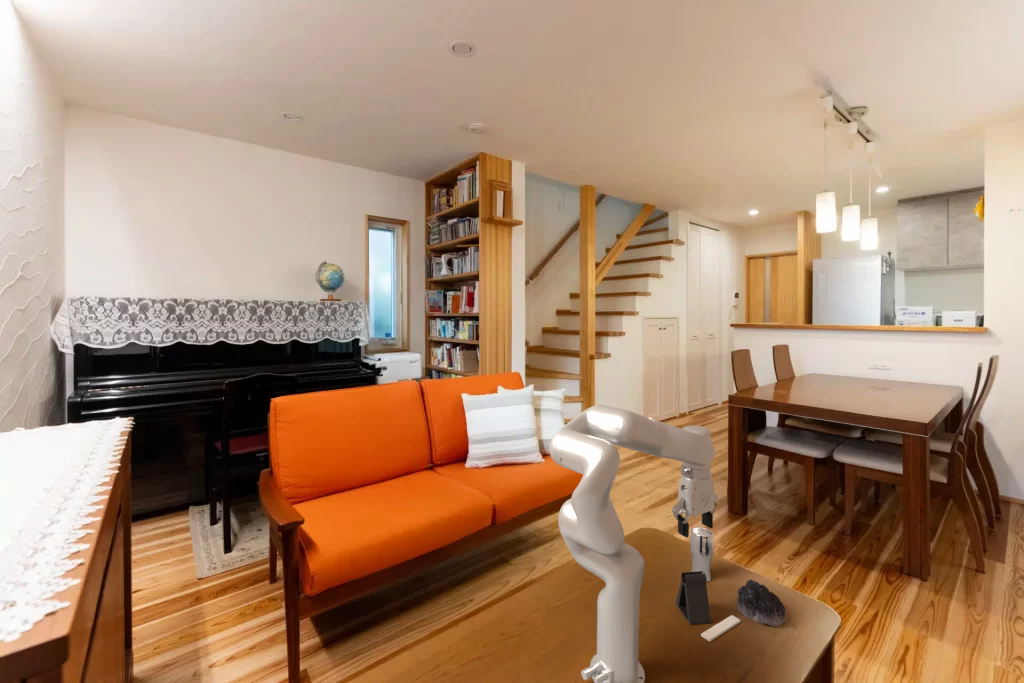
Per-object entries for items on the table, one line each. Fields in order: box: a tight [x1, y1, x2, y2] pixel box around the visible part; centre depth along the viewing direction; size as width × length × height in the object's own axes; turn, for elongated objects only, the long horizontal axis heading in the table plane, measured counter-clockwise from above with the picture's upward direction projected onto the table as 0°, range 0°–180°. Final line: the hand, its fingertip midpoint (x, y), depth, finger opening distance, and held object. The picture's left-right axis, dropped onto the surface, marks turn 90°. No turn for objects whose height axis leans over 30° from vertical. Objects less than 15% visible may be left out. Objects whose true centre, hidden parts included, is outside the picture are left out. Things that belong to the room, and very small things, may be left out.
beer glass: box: [689, 526, 714, 582], centre depth 144 cm, size 7×7×15 cm
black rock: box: [736, 579, 787, 627], centre depth 127 cm, size 13×14×10 cm
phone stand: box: [675, 571, 712, 626], centre depth 126 cm, size 9×6×12 cm, turn 5°
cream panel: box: [700, 614, 741, 642], centre depth 120 cm, size 14×2×1 cm, turn 122°
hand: (695, 530), depth 125 cm, fingers open, 9 cm apart
